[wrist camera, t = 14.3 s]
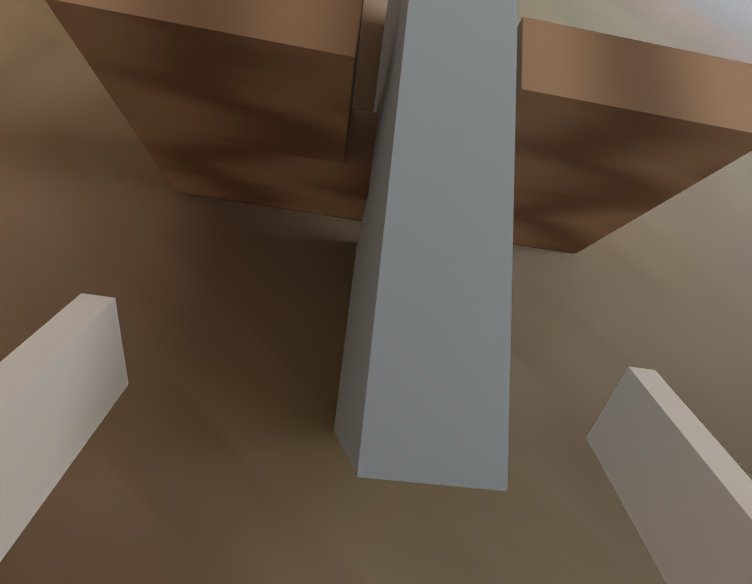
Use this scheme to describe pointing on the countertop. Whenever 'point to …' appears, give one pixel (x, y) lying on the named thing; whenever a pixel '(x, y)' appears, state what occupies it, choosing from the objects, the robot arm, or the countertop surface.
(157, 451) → the countertop surface
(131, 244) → the countertop surface
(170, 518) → the countertop surface
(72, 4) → the walnut board
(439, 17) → the slate plate
